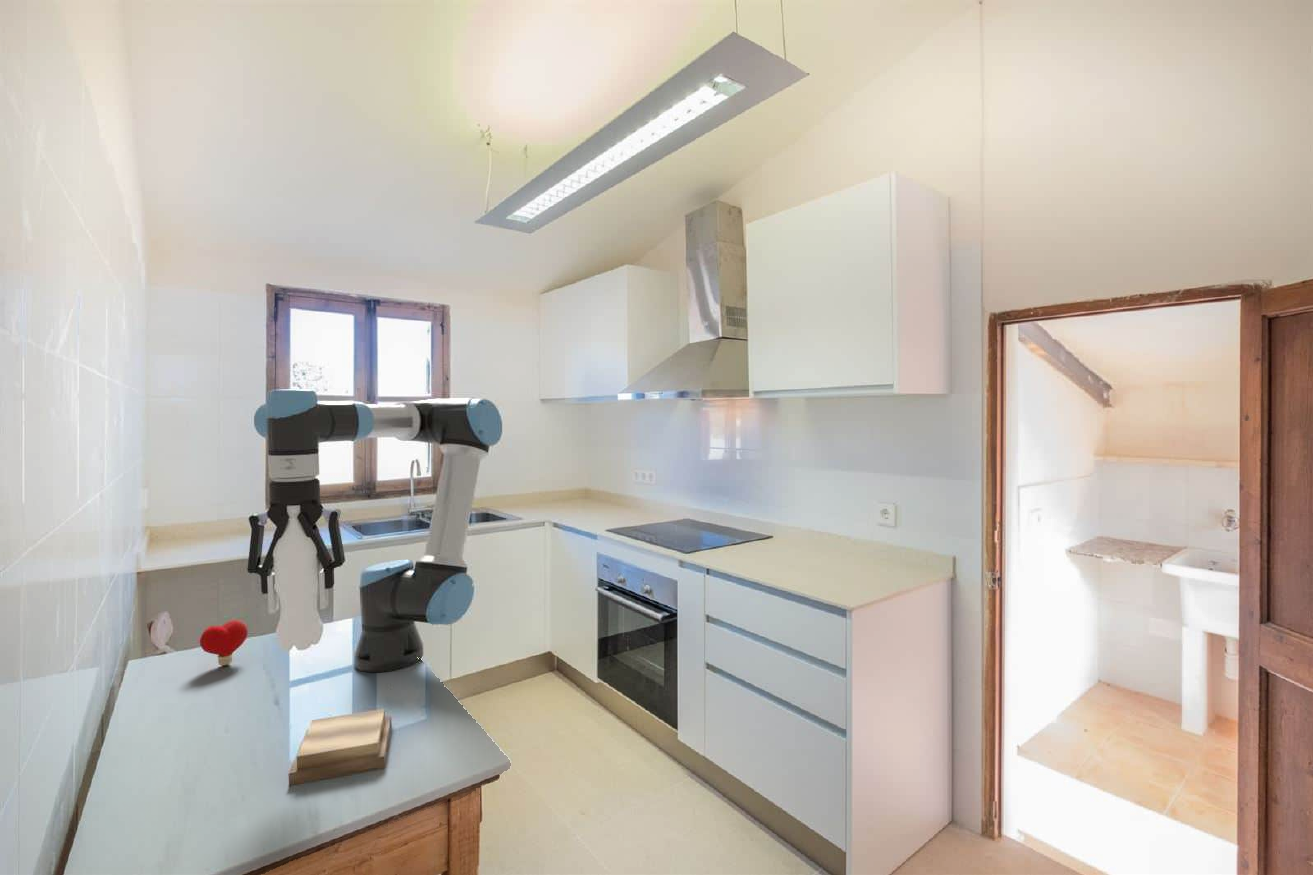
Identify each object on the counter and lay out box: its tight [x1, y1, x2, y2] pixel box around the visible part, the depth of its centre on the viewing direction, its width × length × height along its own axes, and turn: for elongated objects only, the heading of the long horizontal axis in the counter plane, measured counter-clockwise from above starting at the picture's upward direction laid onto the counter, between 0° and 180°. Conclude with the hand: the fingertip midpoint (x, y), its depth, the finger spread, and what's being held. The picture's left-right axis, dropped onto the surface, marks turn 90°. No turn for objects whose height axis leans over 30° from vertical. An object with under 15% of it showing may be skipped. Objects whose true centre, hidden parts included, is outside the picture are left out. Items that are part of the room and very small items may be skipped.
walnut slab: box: [288, 715, 393, 786], centre depth 105 cm, size 14×14×2 cm
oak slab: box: [296, 708, 386, 769], centre depth 105 cm, size 12×12×2 cm
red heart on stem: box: [199, 620, 248, 667], centre depth 141 cm, size 9×7×10 cm
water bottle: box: [273, 505, 324, 652], centre depth 105 cm, size 7×7×25 cm
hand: (299, 608), depth 106 cm, fingers closed on water bottle, 7 cm apart
